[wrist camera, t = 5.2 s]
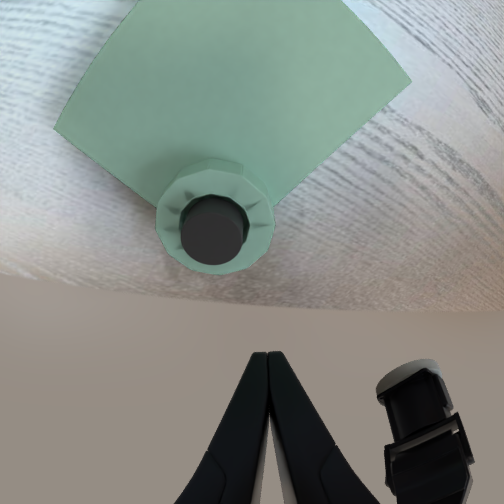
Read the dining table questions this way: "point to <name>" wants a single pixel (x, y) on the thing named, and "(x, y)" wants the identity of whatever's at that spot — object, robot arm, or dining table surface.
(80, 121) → the scale
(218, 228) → the button
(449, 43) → the dining table surface
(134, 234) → the dining table surface
